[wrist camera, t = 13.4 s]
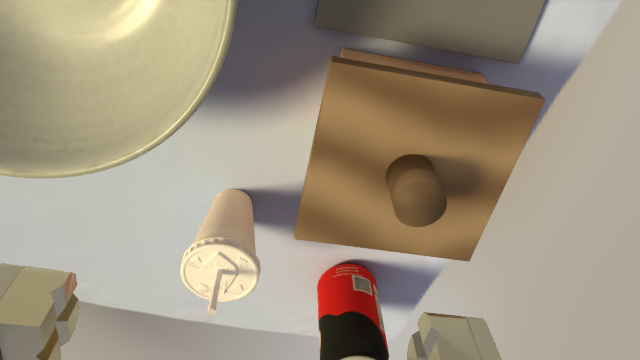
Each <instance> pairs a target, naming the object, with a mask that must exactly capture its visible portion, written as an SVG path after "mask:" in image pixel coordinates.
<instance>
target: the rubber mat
mask: <svg viewBox="0 0 640 360" xmlns="http://www.w3.org/2000/svg"><path fill="white" fill-rule="evenodd" d="M544 2H545V0H319V1H318V6H317V11H316V17H315V22H314V26H317V27H323V28H328V29H334V30H339V31H344V32H350V33H355V34H360V35H366V36H371V37H376V38H382V39H387V40H393V41H398V42H403V43H409V44H414V45H419V46H425V47H430V48H436V49H441V50H446V51H452V52H457V53H462V54H468V55H473V56H479V57H484V58H489V59H495V60H500V61H505V62H511V63H516V64H519V62H520V59H521V57H522V54H523V52H524V50H525V47H526V45H527V43H528V40H529V38H530V35H531V33H532V31H533V28H534V26H535V24H536V21H537V19H538V17H539V14H540V12H541V9H542V7H543V5H544Z"/></svg>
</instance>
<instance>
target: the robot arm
mask: <svg viewBox="0 0 640 360" xmlns="http://www.w3.org/2000/svg"><path fill="white" fill-rule="evenodd" d="M76 286H77V281H76V274H74V273H72V272H65V271H57V270H50V269H43V268H36V267H29V266H18V265H11V264H4V263H2V264H1V265H0V360H60V359H61V352H60V347H61V346H62V345H64V344H65V343H66V342H68V341H70V338H71V336H72V334H73V332H74V329H75V326H76V322H77V318H78V311H79V301H78V298H77V297H76V296H75V295H74V294H73V292H74V290H75V288H76ZM418 327H419V331H418V332H416V333H415V334H413V335H412V337H411V339H410V342H409V345H408V353H407V360H502V359H501V357H500V355H499V352H498V350H497V347H496V345H495V342H494V340H493V338H492V335H491V333H490V330H489V328H488V325H487V323H486V321H485V320H484V319H482V318H473V317H461V316H454V315H444V314H435V313H423V314H422V315H421V316H420V318H419V321H418Z"/></svg>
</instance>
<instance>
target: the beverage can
mask: <svg viewBox="0 0 640 360" xmlns="http://www.w3.org/2000/svg"><path fill="white" fill-rule="evenodd" d="M317 293H318V318H319V342H320V360H388V359H389V354H388V348H387V342H386V336H385V330H384V325H383V319H382V314H381V308H380V302H379V297H378V291H377V285H376V281H375V278H374V277H373V275H372V274H371V273H370V272H369V271H368V270H367V269H365V268H364V267H361V266H359V265H355V264H342V265H337V266H334V267H332V268H330V269H329V270H327V271H326V272H325V273H324V274H323V275H322V276H321V278H320V280H319V282H318V286H317Z"/></svg>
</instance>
